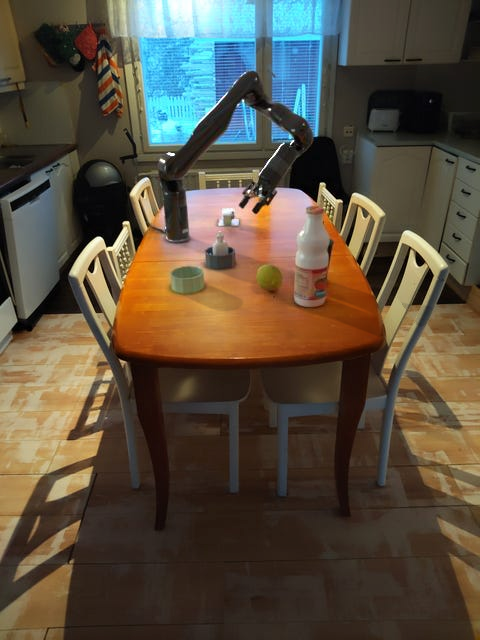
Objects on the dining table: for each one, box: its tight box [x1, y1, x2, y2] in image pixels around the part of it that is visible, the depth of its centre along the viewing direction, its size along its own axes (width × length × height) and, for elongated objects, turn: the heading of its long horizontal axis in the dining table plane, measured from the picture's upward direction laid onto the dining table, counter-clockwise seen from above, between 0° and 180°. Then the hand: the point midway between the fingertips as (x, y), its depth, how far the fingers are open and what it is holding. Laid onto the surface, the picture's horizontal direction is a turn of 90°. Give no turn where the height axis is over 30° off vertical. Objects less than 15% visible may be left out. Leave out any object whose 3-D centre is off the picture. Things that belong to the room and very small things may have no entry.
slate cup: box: [204, 245, 236, 271], centre depth 163 cm, size 10×10×5 cm
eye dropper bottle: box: [212, 230, 229, 256], centre depth 162 cm, size 4×6×12 cm
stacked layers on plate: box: [217, 207, 240, 227], centre depth 206 cm, size 10×9×6 cm
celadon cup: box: [169, 265, 205, 295], centre depth 147 cm, size 10×10×5 cm
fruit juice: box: [293, 205, 331, 308], centre depth 131 cm, size 9×9×28 cm
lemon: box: [256, 263, 283, 292], centre depth 144 cm, size 11×8×8 cm
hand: (247, 210), depth 161 cm, fingers open, 8 cm apart
